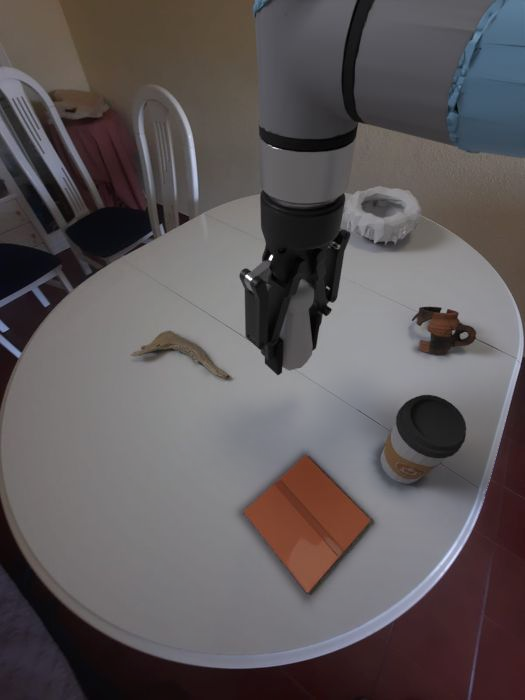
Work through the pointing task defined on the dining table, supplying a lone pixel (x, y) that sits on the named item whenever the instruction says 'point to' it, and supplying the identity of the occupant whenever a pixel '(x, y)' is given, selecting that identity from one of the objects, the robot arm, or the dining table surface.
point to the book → (307, 521)
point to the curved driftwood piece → (182, 345)
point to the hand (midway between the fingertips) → (290, 355)
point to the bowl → (383, 213)
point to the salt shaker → (297, 328)
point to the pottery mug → (443, 330)
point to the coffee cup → (422, 438)
